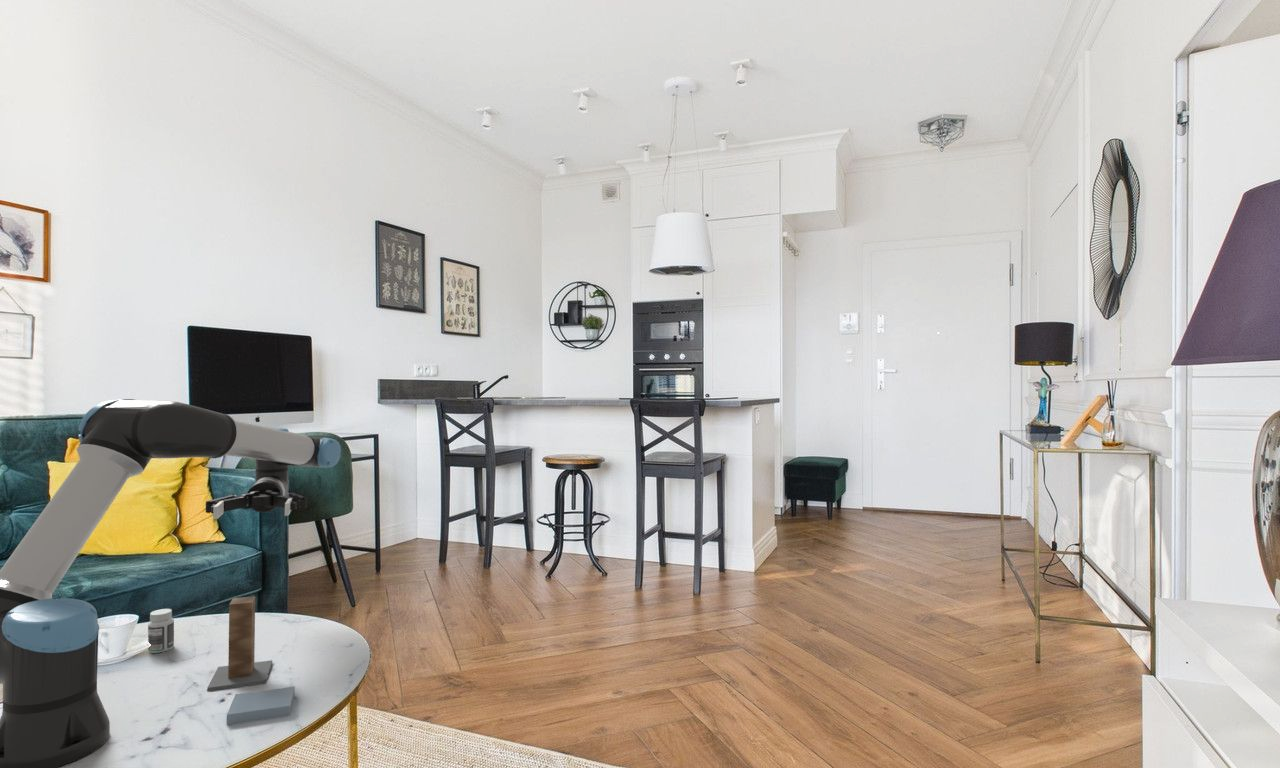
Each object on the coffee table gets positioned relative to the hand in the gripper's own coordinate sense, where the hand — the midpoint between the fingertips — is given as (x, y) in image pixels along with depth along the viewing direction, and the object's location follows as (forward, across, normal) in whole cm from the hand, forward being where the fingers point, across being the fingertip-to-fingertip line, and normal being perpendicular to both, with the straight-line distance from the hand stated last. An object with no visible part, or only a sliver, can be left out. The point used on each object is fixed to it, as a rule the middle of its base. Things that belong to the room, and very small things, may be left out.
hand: (251, 511), depth 146 cm
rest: (+10, 0, -32) cm, 33 cm away
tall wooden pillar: (+10, 0, -31) cm, 33 cm away
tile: (+22, -6, -31) cm, 39 cm away
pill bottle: (-11, +19, -32) cm, 39 cm away
